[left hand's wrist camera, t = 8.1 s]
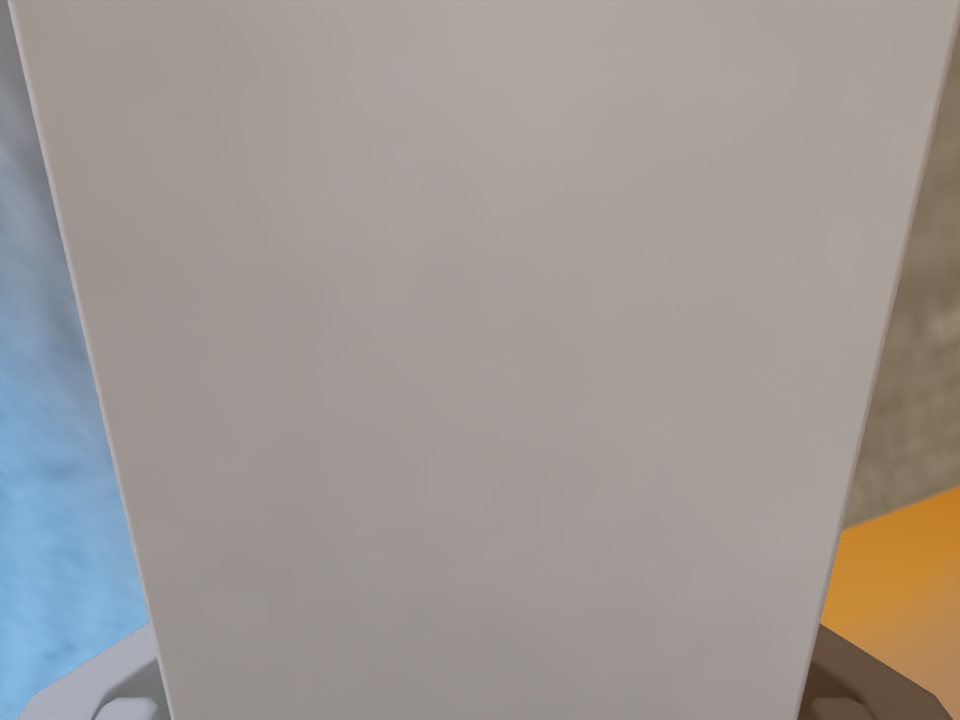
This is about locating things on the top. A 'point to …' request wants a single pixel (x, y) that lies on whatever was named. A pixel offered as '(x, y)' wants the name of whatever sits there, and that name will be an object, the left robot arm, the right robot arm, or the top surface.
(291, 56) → the bar
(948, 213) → the top surface
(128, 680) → the left robot arm
